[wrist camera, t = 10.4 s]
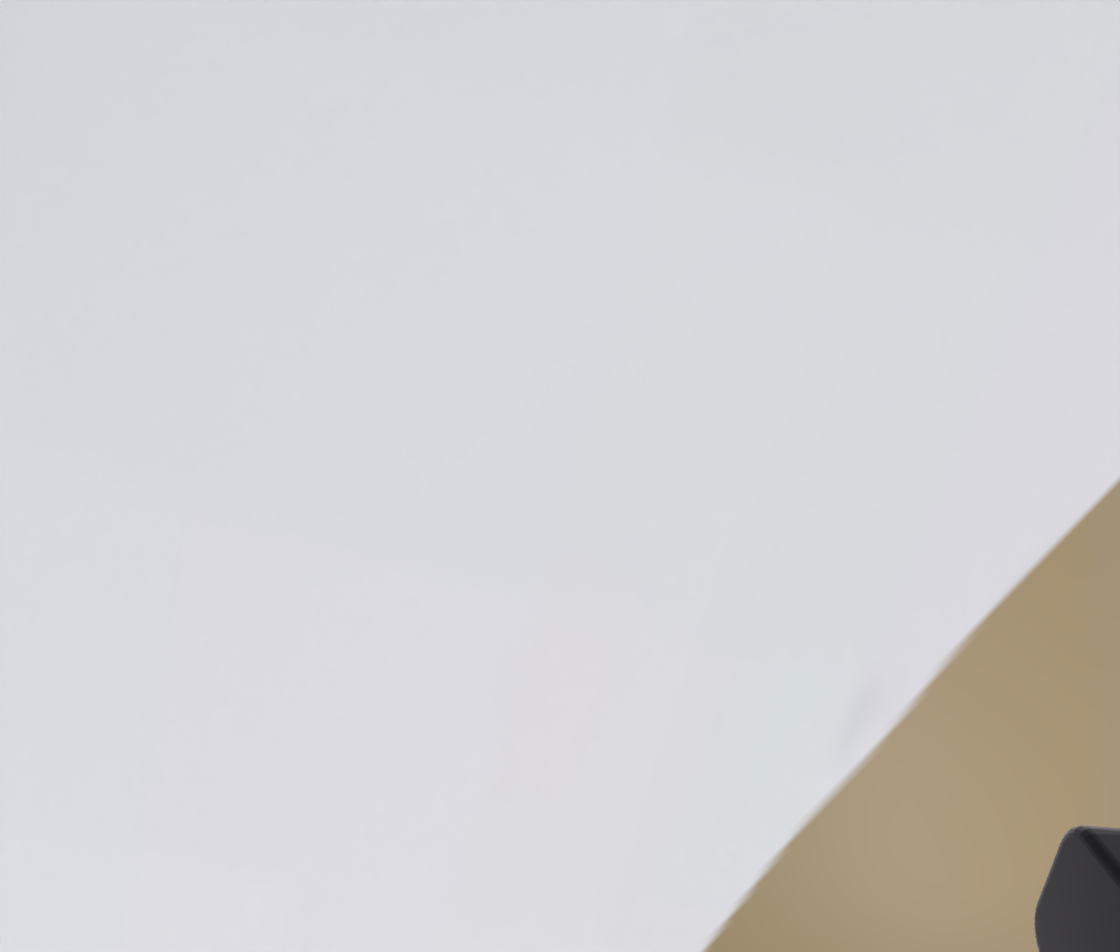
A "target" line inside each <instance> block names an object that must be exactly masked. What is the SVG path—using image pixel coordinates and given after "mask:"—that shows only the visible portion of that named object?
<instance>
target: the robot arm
mask: <svg viewBox="0 0 1120 952" xmlns="http://www.w3.org/2000/svg"><path fill="white" fill-rule="evenodd" d="M1035 934H1036V940H1037V945H1038V949H1039V952H1120V828H1107V827H1094V826H1093V827H1092V826H1077V827H1073V828H1072V829H1070V830H1069V831H1068V832H1067V833H1066V834H1065V835H1064V837H1063V839H1062V841H1061V843H1060V846H1059V849H1058V851H1057V854H1056V856H1055V859H1054V861H1053V864H1052V867H1051V869H1050V872H1049V874H1048V877H1047V880H1046V882H1045V885H1044V887H1043V890H1042V892H1041V895H1040V898H1039V900H1038V903H1037V907H1036V912H1035Z"/></svg>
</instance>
